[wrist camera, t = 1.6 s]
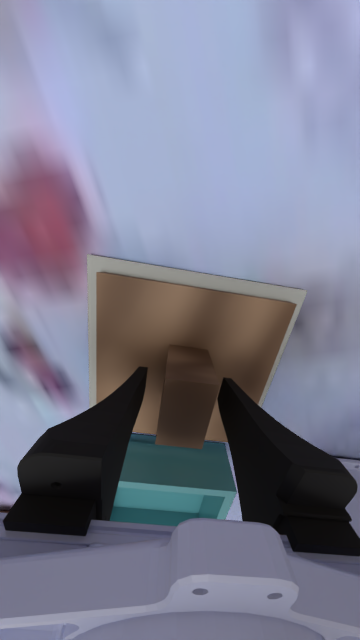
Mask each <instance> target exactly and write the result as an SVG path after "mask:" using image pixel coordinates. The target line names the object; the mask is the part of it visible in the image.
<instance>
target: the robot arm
mask: <svg viewBox="0 0 360 640" xmlns="http://www.w3.org/2000/svg"><path fill="white" fill-rule="evenodd" d="M147 370H148V367H141V366H139V367H138V368H137V369H136V370H135V372H134V373H133V374H132V375H131V376H130V377H129V378H128V379H127V380H126V381H125V382H124V383H123V384H122V385H121V386H120V387H118V388H117V389H116V390H115V391H114V392H113V393H111V394H110V395H109V396H107V397H106V398H105V399H103V400H102V401H100V402H99V403H97V404H96V405H94V406H93V407H91V408H90V409H88V410H86V411H84V412H83V413H81V414H79V415H77V416H75V417H73V418H71V419H69V420H67V421H65V422H63V423H60V424H58V425H56V426H54V427H52V428H49V429H48V430H47V431H46V432H45V433H44V434H43V435H42V436H41V437H40V438H39V439H38V440H37V441H36V443H35V444H34V445H33V446H32V447H31V449H30V450H29V451H28V452H27V454H26V455H25V456H24V457H23V459H22V460H21V461H20V463H19V465H18V467H17V469H18V478H19V483H20V487H21V492H22V493H21V495H20V496H19V498H18V499H17V501H16V502H15V504H14V505H13V507H12V508H11V509H10V511H9V512H8V513H1V512H0V640H360V460H351V459H341V458H335V457H333V456H331V455H329V454H327V453H326V452H324V451H322V450H320V449H318V448H317V447H315V446H313V445H312V444H310V443H308V442H307V441H305V440H304V439H302V438H300V437H299V436H297V435H296V434H294V433H293V432H291V431H290V430H289V429H287V428H286V427H284V426H283V425H282V424H280V423H279V422H278V421H276V420H275V419H274V418H273V417H271V416H270V415H269V414H268V413H267V412H265V411H264V410H263V409H262V408H261V407H260V406H259V405H258V404H256V403H255V402H254V401H253V400H252V399H251V398H250V397H249V396H248V395H247V394H246V393H245V392H244V391H243V390H242V389H241V388H240V387H239V386H238V385H237V384H236V383H235V381H233V380H232V379H231V378H225V377H223V380H222V384H221V387H220V391H219V394H218V398H217V400H218V407H219V412H220V416H221V419H222V423H223V426H224V430H225V433H226V436H227V440H228V443H229V447H230V451H231V455H232V460H233V465H234V471H235V476H236V482H237V487H238V493H239V500H240V506H241V512H242V520H243V521H234V520H222V519H210V518H194V519H188V520H186V521H183V522H181V523H179V525H178V526H165V525H152V524H140V523H127V522H115V521H110V517H111V513H112V508H113V504H114V500H115V496H116V492H117V488H118V484H119V479H120V475H121V471H122V467H123V463H124V459H125V456H126V452H127V448H128V444H129V440H130V437H131V434H132V431H133V428H134V425H135V422H136V419H137V417H138V414H139V411H140V408H141V405H142V402H143V398H144V393H145V388H146V379H147Z"/></svg>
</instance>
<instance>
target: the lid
mask: <svg viewBox="0 0 360 640" xmlns="http://www.w3.org/2000/svg"><path fill="white" fill-rule="evenodd" d="M296 306H297V304H295V303H292V302H288V301H281V300H275V299H269V298H263V297H257V296H250V295H244V294H238V293H232V292H225V291H219V290H213V289H207V288H200V287H194V286H188V285H182V284H175V283H169V282H163V281H157V280H151V279H144V278H138V277H132V276H126V275H119V274H113V273H107V272H96V404H97V403H99V402H100V401H102V400H103V399H105V398H106V397H107V396H109V395H110V394H111V393H113V392H114V391H115V390H116V389H117V388H118V387H120V386H121V385H122V384H123V383H124V382H125V381H126V380H127V379H128V378H129V377H130V376H131V375H132V374H133V373H134V372H135V370H136V369H137V368H138V367H139V366H141V367H148V370H147V379H146V388H145V393H144V398H143V402H142V405H141V408H140V411H139V414H138V417H137V419H136V422H135V425H134V428H133V431H132V432H139V433H148V434H156V441H155V444H157V445H166V446H176V447H185V448H194V449H202V447H203V444H204V440H212V441H221V442H228V440H227V436H226V433H225V430H224V426H223V423H222V419H221V416H220V412H219V407H218V400H217V398H218V394H219V391H220V387H221V384H222V380H223V377H225V378H231V379H232V380H233V381H235V383H236V384H237V385H238V386H239V387H240V388H241V389H242V390H243V391H244V392H245V393H246V394H247V395H248V396H249V397H250V398H251V399H252V400H253V401H254V402H255V403H256V404H259V401H260V398H261V396H262V393H263V391H264V388H265V386H266V383H267V380H268V378H269V375H270V373H271V370H272V368H273V365H274V362H275V360H276V357H277V355H278V352H279V349H280V347H281V344H282V342H283V339H284V337H285V334H286V331H287V329H288V326H289V324H290V321H291V318H292V316H293V313H294V311H295V308H296Z"/></svg>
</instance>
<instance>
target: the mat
mask: <svg viewBox="0 0 360 640" xmlns="http://www.w3.org/2000/svg"><path fill="white" fill-rule="evenodd" d="M96 272H107V273H113V274H119V275H126V276H132V277H138V278H144V279H151V280H157V281H163V282H169V283H175V284H182V285H188V286H194V287H200V288H207V289H213V290H219V291H225V292H232V293H238V294H244V295H250V296H257V297H263V298H269V299H275V300H281V301H288V302H292V303H295V304H297V306H296V308H295V311H294V313H293V316H292V318H291V321H290V324H289V326H288V329H287V331H286V334H285V337H284V339H283V342H282V344H281V347H280V349H279V352H278V355H277V357H276V360H275V362H274V365H273V368H272V370H271V373H270V375H269V378H268V380H267V383H266V386H265V388H264V391H263V393H262V396H261V398H260V401H259V404H258V405H259V406H260V407H262V404H263V402H264V399H265V397H266V394H267V392H268V389H269V387H270V384H271V382H272V379H273V377H274V374H275V371H276V369H277V366H278V364H279V361H280V359H281V356H282V354H283V351H284V349H285V346H286V344H287V341H288V339H289V336H290V334H291V331H292V329H293V326H294V324H295V321H296V319H297V316H298V314H299V311H300V309H301V306H302V304H303V301H304V299H305V296H306V294H307V291H306V290H301V289H295V288H289V287H283V286H277V285H271V284H265V283H259V282H253V281H246V280H240V279H234V278H228V277H222V276H216V275H210V274H204V273H198V272H192V271H186V270H180V269H174V268H168V267H162V266H156V265H150V264H144V263H138V262H132V261H126V260H120V259H113V258H107V257H101V256H95V255H89V254H87V280H88V342H89V403H90V408H91V407H93V406H94V405H96Z"/></svg>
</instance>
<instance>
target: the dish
mask: <svg viewBox="0 0 360 640" xmlns="http://www.w3.org/2000/svg"><path fill="white" fill-rule="evenodd" d="M155 441H156V436H149V435H140V434H131V437H130V440H129V444H128V448H127V452H126V456H125V459H124V463H123V467H122V471H121V475H120V479H119V484H118V488H117V492H116V496H115V500H114V504H113V508H112V513H111V517H110V521H115V522H127V523H140V524H152V525H165V526H178V525H179V523H181V522H183V521H186V520H188V519H194V518H210V519H222V520H225V518H226V516H227V514H228V511H229V509H230V507H231V504H232V502H233V500H234V497H235V495H236V493H237V491H236V487H235V483H234V479H233V475H232V471H231V467H230V464H229V460H228V456H227V452H226V448H225V444H223V443H214V442H204V444H203V447H202V449H194V448H185V447H176V446H166V445H157V444H155Z"/></svg>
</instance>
